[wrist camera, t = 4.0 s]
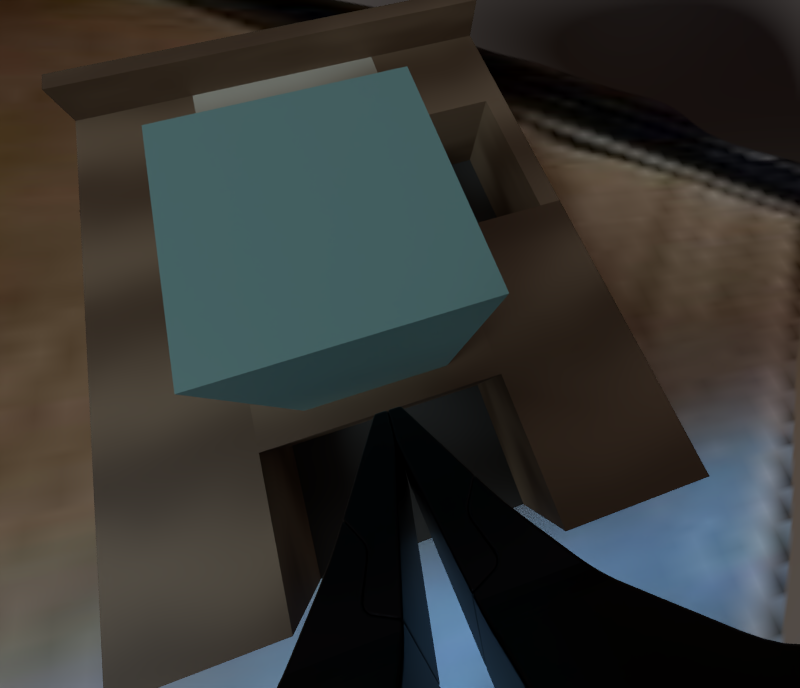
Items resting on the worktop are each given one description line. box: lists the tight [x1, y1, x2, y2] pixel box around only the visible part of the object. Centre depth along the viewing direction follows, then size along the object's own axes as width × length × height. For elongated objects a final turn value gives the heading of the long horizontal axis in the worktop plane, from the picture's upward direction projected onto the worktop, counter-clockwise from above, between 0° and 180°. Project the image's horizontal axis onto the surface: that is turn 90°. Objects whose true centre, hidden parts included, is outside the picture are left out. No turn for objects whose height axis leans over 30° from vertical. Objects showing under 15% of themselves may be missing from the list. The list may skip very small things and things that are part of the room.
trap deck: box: [42, 0, 709, 688], centre depth 15 cm, size 26×22×6 cm
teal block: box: [142, 66, 509, 411], centre depth 9 cm, size 6×6×7 cm
